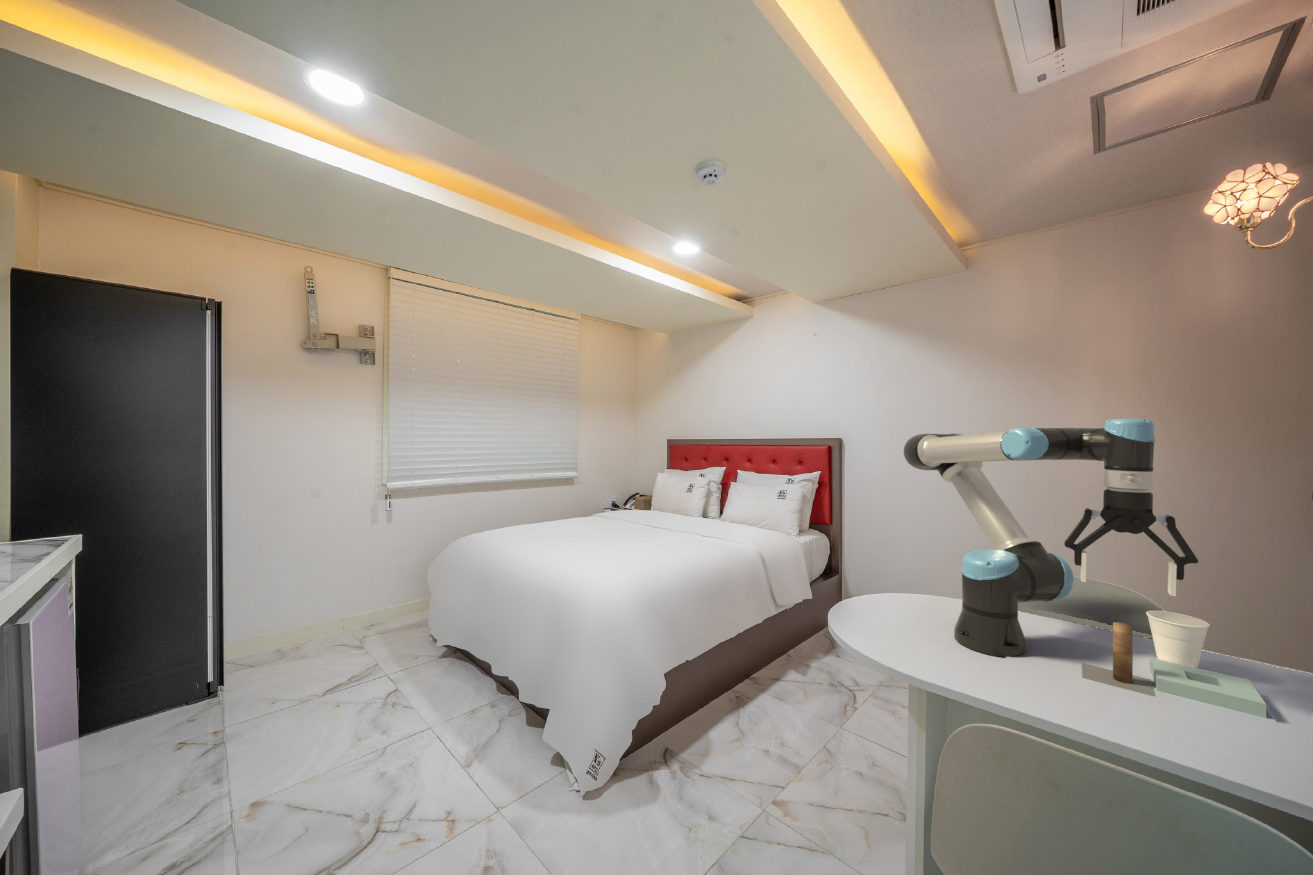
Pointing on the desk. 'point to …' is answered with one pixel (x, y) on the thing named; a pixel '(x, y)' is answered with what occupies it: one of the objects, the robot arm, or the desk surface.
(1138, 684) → the mat
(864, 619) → the desk surface
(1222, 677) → the socket block
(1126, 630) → the peg
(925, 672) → the desk surface
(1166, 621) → the cup
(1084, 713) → the desk surface
